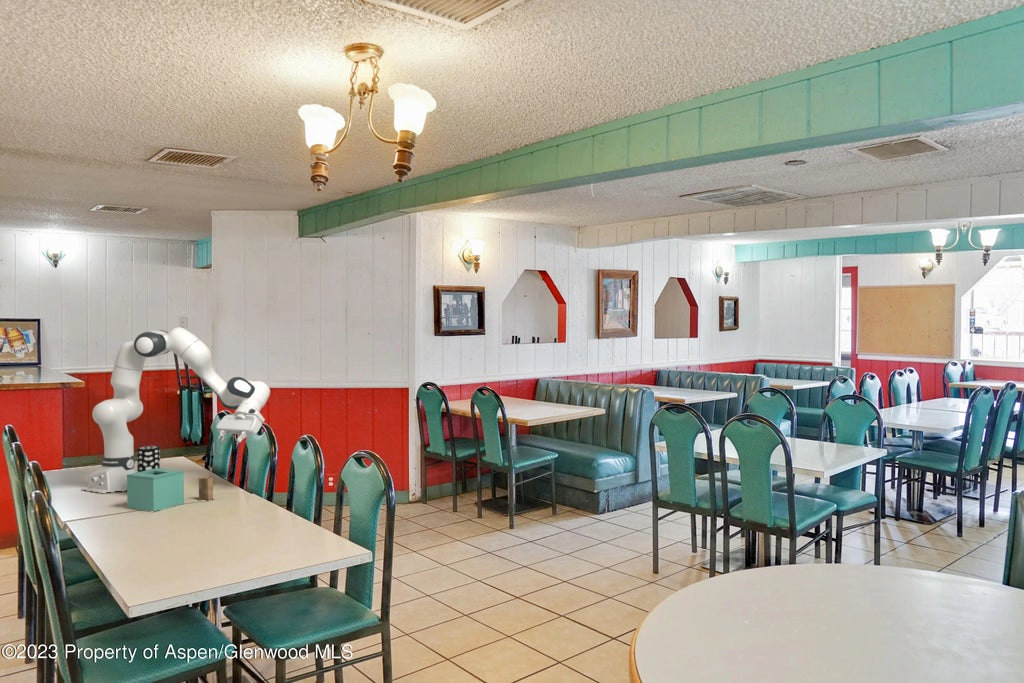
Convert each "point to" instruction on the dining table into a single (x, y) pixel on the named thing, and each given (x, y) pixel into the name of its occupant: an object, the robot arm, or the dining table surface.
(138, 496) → the box
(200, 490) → the brown rectangular block
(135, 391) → the robot arm
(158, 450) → the white-spotted black cylinder
